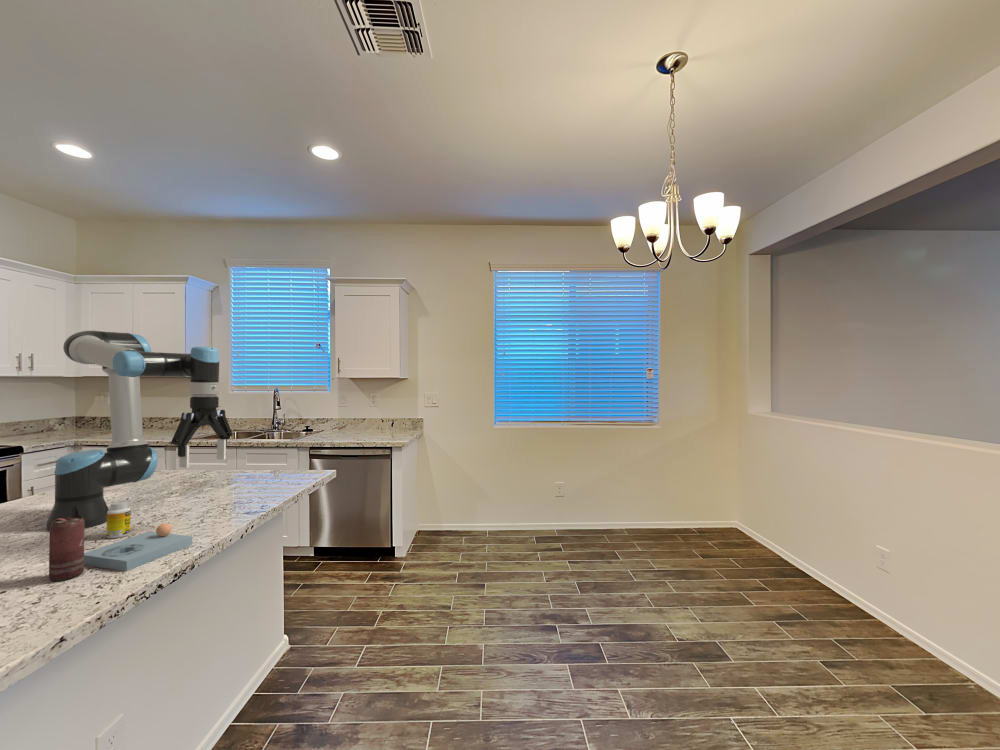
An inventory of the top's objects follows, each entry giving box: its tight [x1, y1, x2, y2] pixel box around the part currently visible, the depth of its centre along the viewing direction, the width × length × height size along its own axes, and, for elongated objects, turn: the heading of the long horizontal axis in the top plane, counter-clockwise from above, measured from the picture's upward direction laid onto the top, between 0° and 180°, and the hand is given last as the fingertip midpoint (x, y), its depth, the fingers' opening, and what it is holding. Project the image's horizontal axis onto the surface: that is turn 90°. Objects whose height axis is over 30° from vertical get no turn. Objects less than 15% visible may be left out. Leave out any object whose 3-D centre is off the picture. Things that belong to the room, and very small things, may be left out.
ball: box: [155, 523, 172, 536], centre depth 129 cm, size 4×4×4 cm
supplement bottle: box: [106, 500, 132, 539], centre depth 136 cm, size 6×6×10 cm
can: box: [48, 516, 85, 582], centre depth 108 cm, size 6×6×14 cm
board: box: [84, 531, 193, 572], centre depth 122 cm, size 16×18×2 cm
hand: (203, 463), depth 140 cm, fingers open, 13 cm apart
